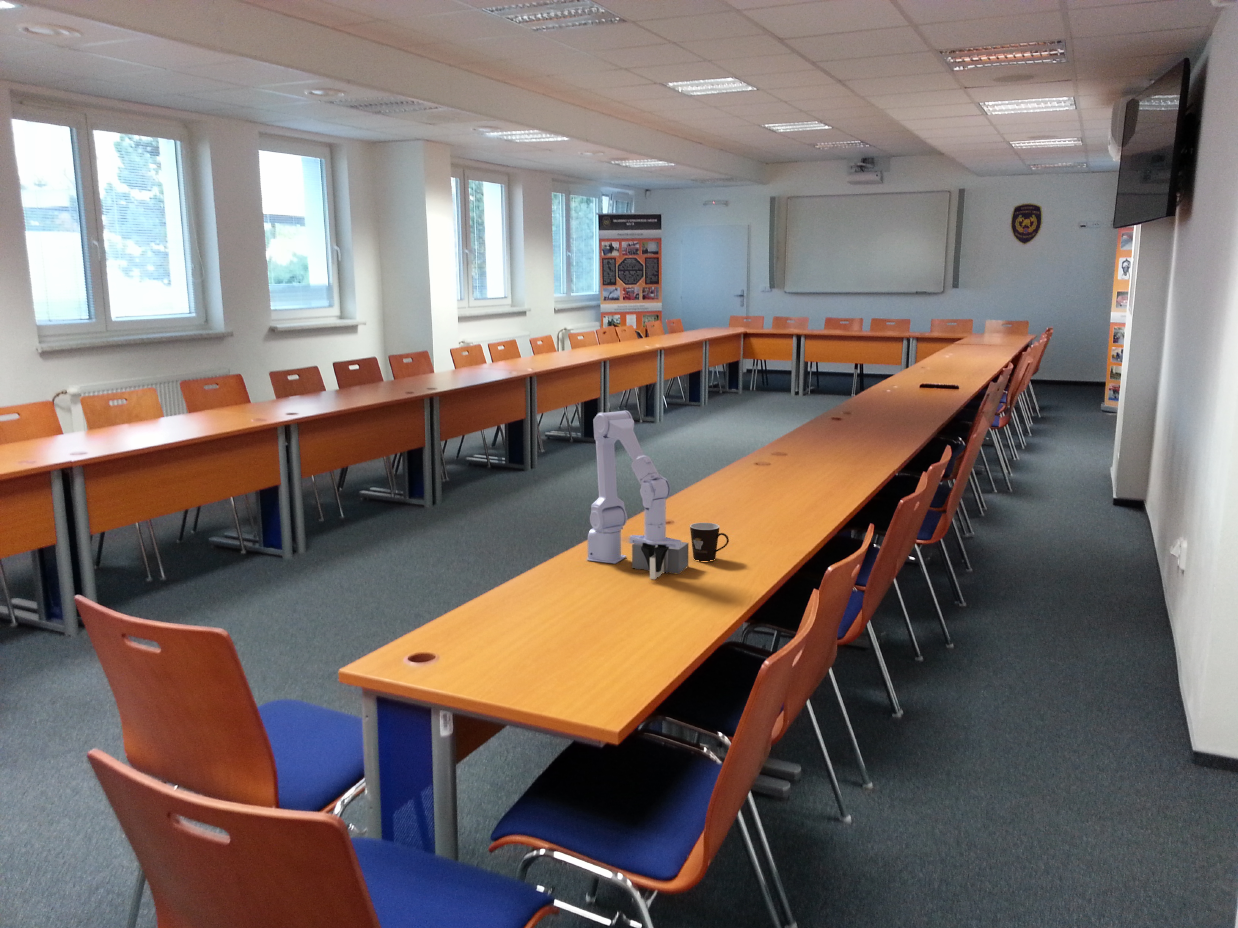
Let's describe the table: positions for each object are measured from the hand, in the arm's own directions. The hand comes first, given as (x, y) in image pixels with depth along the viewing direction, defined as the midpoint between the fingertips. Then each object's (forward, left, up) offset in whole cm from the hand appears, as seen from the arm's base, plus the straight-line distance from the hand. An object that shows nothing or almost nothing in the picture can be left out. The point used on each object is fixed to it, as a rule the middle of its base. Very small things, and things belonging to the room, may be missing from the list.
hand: (655, 570), depth 255 cm
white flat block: (0, +3, -2) cm, 3 cm away
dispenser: (-2, +9, -2) cm, 10 cm away
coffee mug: (+8, +21, -2) cm, 23 cm away
